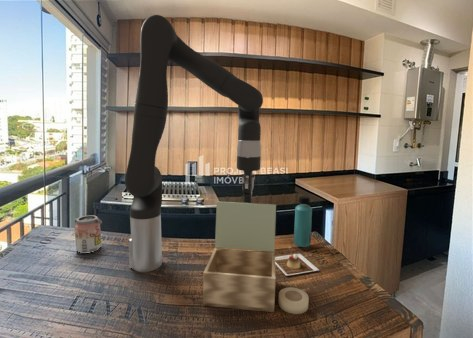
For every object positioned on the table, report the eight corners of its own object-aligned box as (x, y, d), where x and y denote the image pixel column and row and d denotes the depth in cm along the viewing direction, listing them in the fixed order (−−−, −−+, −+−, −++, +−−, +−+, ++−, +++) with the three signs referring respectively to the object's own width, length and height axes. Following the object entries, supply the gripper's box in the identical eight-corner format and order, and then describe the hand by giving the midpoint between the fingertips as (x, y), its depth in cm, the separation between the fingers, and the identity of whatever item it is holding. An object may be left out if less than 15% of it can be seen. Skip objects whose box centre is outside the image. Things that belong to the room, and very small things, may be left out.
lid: (216, 201, 82) (217, 201, 83) (214, 247, 82) (215, 246, 83) (276, 204, 80) (275, 204, 81) (274, 251, 80) (274, 251, 81)
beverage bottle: (311, 252, 101) (314, 199, 98) (292, 250, 102) (295, 198, 99) (309, 244, 107) (313, 195, 104) (292, 242, 108) (295, 194, 105)
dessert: (269, 260, 95) (270, 247, 94) (299, 256, 98) (300, 243, 98) (285, 279, 83) (286, 264, 83) (319, 273, 87) (320, 259, 86)
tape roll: (278, 312, 68) (279, 303, 67) (278, 294, 75) (278, 285, 75) (310, 315, 67) (310, 306, 66) (306, 296, 74) (306, 288, 74)
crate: (203, 305, 70) (203, 272, 68) (214, 275, 83) (214, 248, 82) (274, 312, 68) (275, 278, 66) (273, 280, 81) (274, 252, 80)
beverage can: (83, 243, 104) (81, 213, 102) (106, 243, 105) (104, 213, 103) (71, 255, 95) (69, 222, 93) (96, 254, 96) (94, 221, 94)
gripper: (239, 152, 92) (238, 201, 95) (234, 156, 79) (233, 213, 82) (261, 153, 91) (259, 202, 94) (260, 157, 78) (258, 215, 81)
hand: (247, 207), depth 88 cm, fingers closed
